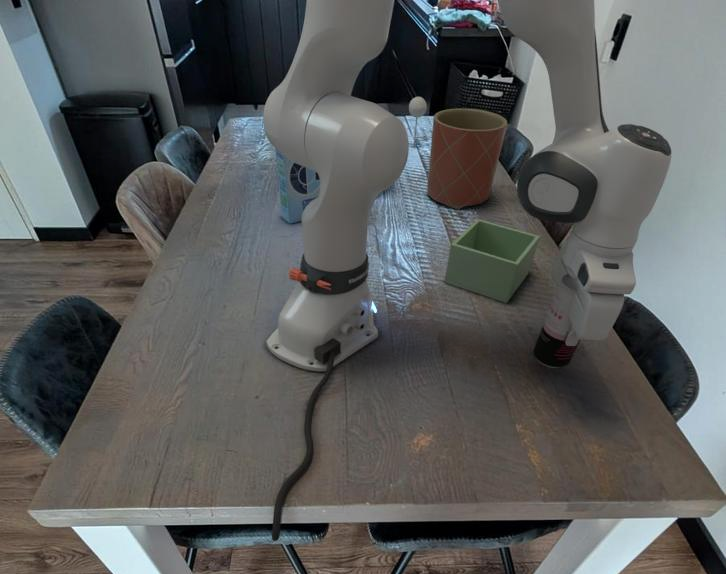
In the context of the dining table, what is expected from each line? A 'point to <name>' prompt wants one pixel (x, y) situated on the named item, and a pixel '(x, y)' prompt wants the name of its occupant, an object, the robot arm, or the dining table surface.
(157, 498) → the dining table surface
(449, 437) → the dining table surface
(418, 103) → the lollipop
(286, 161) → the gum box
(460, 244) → the basket
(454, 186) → the planter
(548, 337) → the beverage can
